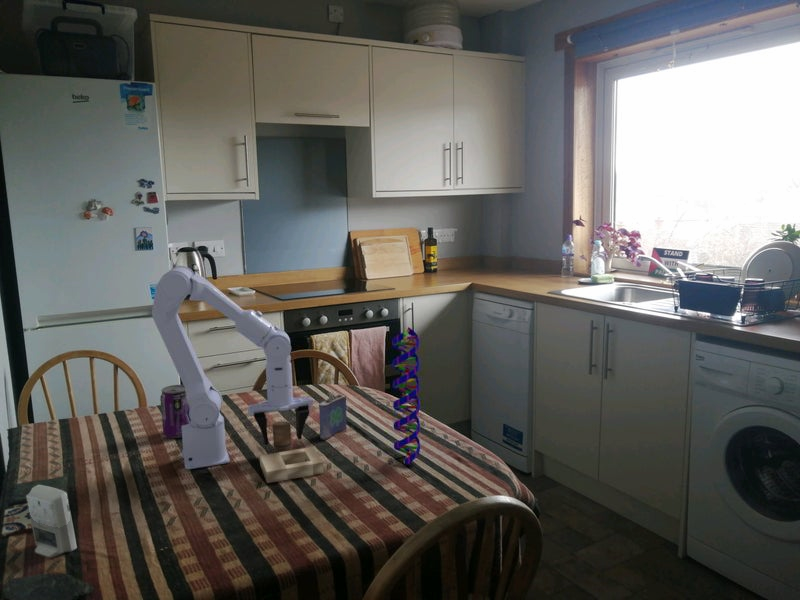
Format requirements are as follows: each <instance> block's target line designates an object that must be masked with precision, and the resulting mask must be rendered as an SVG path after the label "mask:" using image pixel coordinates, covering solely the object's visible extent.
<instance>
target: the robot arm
mask: <svg viewBox="0 0 800 600" xmlns="http://www.w3.org/2000/svg"><path fill="white" fill-rule="evenodd" d="M154 291H155V293H154V299H153V302H152V309H151V315H152V316H151V318H152V319H153V321H154V323H155V325H156V328H157V330H158V332H159V334H160V336H161V339H162V340H163V343H164V345H165V347H166V350H167V352H168V354H169V356H170V359H171V361H172V363H173V364H174V367H175V369H176V372H177V374H178V376H179V378H180V380H181V382H182V385H184V387H185V391H186V398H187V402H188V404H189V407H190V410H189V416H190V419H191V421H190V423H189V424H187V425H183V426H182V437H181V438H182V449H181V457H182V459H183V461H184V462H183V463H184V470H192V469H199V468H205V467H206V468H207V467H210V466H211V467H212V466H217V465H225V464H229V463H230V462H231V460H230V456H229V454H228V450H227V448H226V431H225V430H226V429H225V418H224V416H223V415H222V414H221V411H220V410H221V407H222V406H223V402H224V401H223V399H224V398H223V396H222V394H221V393H220V391H219V390H217V389H216V388H215V387H214V386H213V384H212V382H211V380H210V379H209V378H208V377H207V376H206V373H205V371H204V369H203V368H202V365H201V363H200V361H199V358H198V355H197V354H196V351H195V349H194V347H193V345H192V341H191V340H190V338H189V336H188V334H187V332H186V329H185V327H184V324H183V322H182V321H181V318H180V316H179V310H180V308H181V306H182V304H183V303H184V300H185V299H186V297H188V295H190V296H189V299H188V300H189V301H196V302H197V301H202V302H205V303H207V304H208V305H210V306H211V307H213V309H215V310H217V311H218V312H220V313H221V314H223V315H224V316H225V317H227V318H229V319H230V320H231V321H232V322H234V326H235V327H234V328H235V330H236V332H238V333H239V334H241V335H242V336H244V337H245V338H246V339H247V340H249V341H250V342H252V343H253V344H254V346H255V345H256V346H257V347H259V348H262V349H263V353H264V355H265V358H266V365H265V376H266V392H267V393H266V394H267V400H266V401H262V402H258V403H255V404H250V405H247V413H248V416H249V417H253V418H254V420H255V421H256V423H257V425H258V427H259V429H260V432H261V435H262V439H263V444H264V445H265V446H267V445H269V437H268V419H267V416H266V414H268V413H275V412H284V411H289V410H294V411H295V420H296V422H295V423H296V425H295V427H296V428H295V430H296V431H295V433H296V437H297V439H298V440H302V438H303V432H304V426H305V424H306V421H307V419H308V418H309V415H310V408H313V407H314V400H313V398H312V397H311V396H307V397H306V396H304V397H294V392H293V391H294V390H293V373H292V370H293V369H292V362H291V360H292V358H291V351H292V345H291V338H290V337H289V335H288V334H287V333H286V331H285V330H284V329H282V328H280V327H279V326H278V325H277V324H276V325H273V324H272V323H270V321H268V320H267V319H266V318H264V317H263V313H262V312H261V311H259V310H257V311H255V310H254V309H243V308H241V306H239V305H238V304H237V303H236V302H234V301H233V300H232V299H231V298H230V297H228V296H227V295H225V293H223V292H222V291H221V290H220V289H218V287H217V286H215V285H214V284H212V282H211V281H209V280H207V279H206V278H205V277H203V276H202V275H201V274H199V273H195V272H194V271H193V270H192V268H189V267H188V266H185V265H177V266H174V267H173V268H171V269H170V270H169V271H167V272H165V273H164V274H163V275H162V276H161V277H160V280H159V281H158V282H157V284H156V285H155V290H154Z"/></svg>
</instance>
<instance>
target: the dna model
mask: <svg viewBox="0 0 800 600" xmlns="http://www.w3.org/2000/svg"><path fill="white" fill-rule="evenodd" d="M407 335H409V336H407ZM412 339H414V340H415V341H416V342H412V341H411V342H408V341H407V340H412ZM406 341H407V342H406ZM391 344H392V346H393V348H394V349H396V350H398V351H400V352H403V354H400V355H399V356H397V357H395V358H393V360H392V363H391V364H392V367H393V369H395V370H397V371H399V372H401V373H403V374H404V375H402V376H400V377H397V378H396V379H394V380H392V381H393V382H392V388H393V389H394V390H396V391H398V392H400V393H403V394H405V395H404V396H403V397H402V396H401V397H400V398H399V399H396V400H394V401H393V403H392V404H393V405H392V406H393V409H394V410H395V411H398V412H401V413H403V414H404V415H406V416H405V417H403V418H401V419H397V420H395V421H394V423H393V429H394V430H395V431H397V432H400V433H403V434H405V437H404V438H403V439H400V440H398V441H395V442H393V449H394V450H395V451H397V452H400V453H404V454H406V456H405V458H404V460H403V464H404V466H407V465H409V464H411V463H412V462H413V461H414V460H416V458H417V457H418V456H419V454H420V452H421V441H420V438H419V437H418V435H419V433H420V430H421V422H420V418H419V417H418V414H419V412H420V409H421V402H420V399H419V397H418V396H417V395H418V393H419V391H420V387H421V384H420V383H421V382H420V379H419V377H418V376H417V373H418V371H419V369H420V365H421V364H420V358H419V356H418V355H417V351H418V350H419V347H420V337H419V336H418V334H417V333H416V331H414V330H413V329H412V328H410V327H407V328H406V330H405V331H404V332H401V333H399V334H397V335H395V336H394V337H393V339H392V341H391ZM407 346H412V348H411V349H410V348H409V347H407ZM413 346H414V347H413ZM412 361H415V362H416V364H409V363H408V362H412ZM404 363H405V364H404ZM407 363H408V364H407ZM410 368H413V369H412V370H411V369H410ZM413 382H416V385H415V384H414V385H413V384H411V385H410V383H413ZM408 383H409V384H408ZM411 389H414V390H411ZM414 402H415V403H416V404H417V405H407V404H410V403H414ZM412 410H414V411H412ZM412 423H416V424H417V426H410V425H409V426H407V425H408V424H412ZM413 430H415V431H413ZM412 443H416V444H417V445H415V446H414V445H409V444H412ZM410 450H415V451H414V452H413V453H412V451H410Z"/></svg>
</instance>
